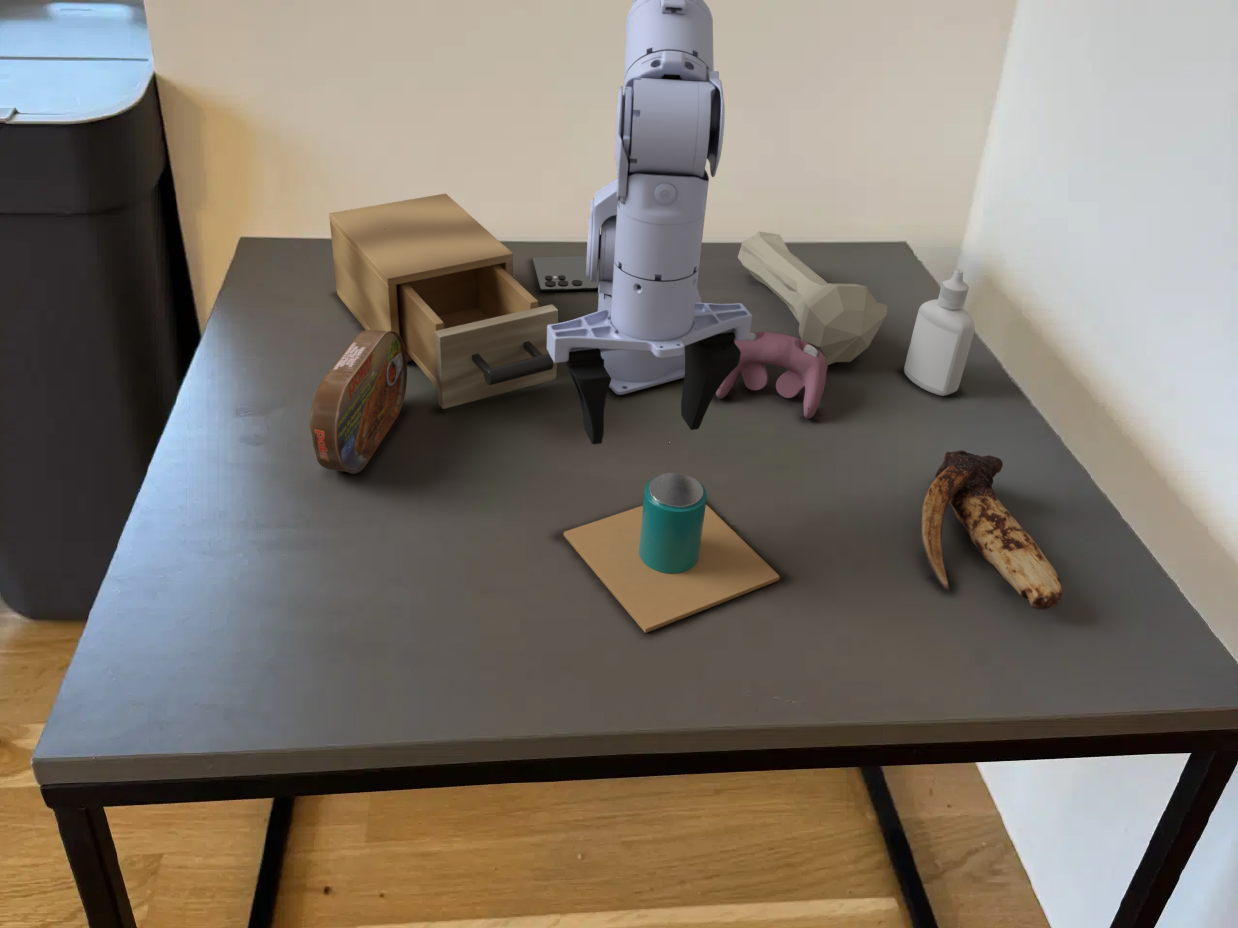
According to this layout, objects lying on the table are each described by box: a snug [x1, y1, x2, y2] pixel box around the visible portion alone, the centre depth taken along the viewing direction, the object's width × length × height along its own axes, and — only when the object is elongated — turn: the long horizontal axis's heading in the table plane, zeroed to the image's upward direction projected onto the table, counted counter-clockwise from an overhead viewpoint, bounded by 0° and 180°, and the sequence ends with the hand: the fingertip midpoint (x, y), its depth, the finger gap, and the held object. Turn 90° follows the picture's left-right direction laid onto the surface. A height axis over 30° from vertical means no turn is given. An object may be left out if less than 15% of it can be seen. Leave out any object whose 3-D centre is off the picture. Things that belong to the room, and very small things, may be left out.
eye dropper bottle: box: [903, 268, 976, 397], centre depth 104 cm, size 4×6×12 cm
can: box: [639, 472, 708, 574], centre depth 83 cm, size 5×5×6 cm
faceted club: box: [737, 231, 888, 366], centre depth 115 cm, size 9×8×25 cm
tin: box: [309, 329, 408, 474], centre depth 92 cm, size 15×3×8 cm, turn 168°
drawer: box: [396, 264, 559, 410], centre depth 101 cm, size 19×11×7 cm, turn 31°
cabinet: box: [328, 192, 514, 363], centre depth 110 cm, size 16×13×9 cm
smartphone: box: [532, 255, 600, 292], centre depth 122 cm, size 8×1×16 cm
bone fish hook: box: [920, 449, 1063, 610], centre depth 86 cm, size 9×5×18 cm
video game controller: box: [715, 331, 829, 420], centre depth 103 cm, size 10×5×7 cm, turn 71°
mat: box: [563, 504, 781, 634], centre depth 85 cm, size 12×12×1 cm
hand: (642, 429), depth 82 cm, fingers open, 7 cm apart
